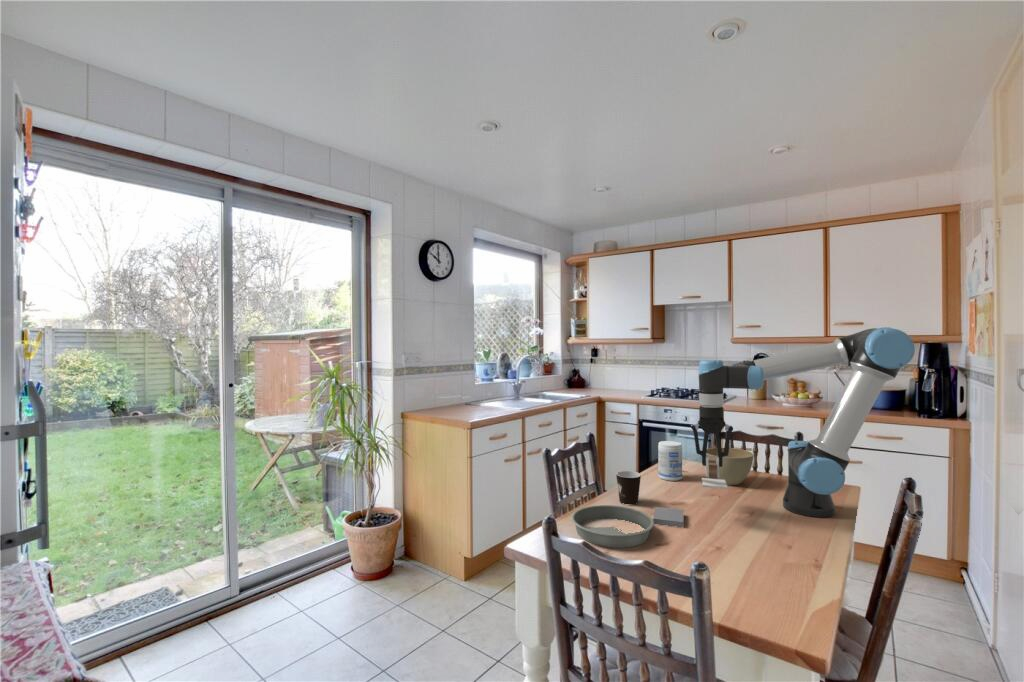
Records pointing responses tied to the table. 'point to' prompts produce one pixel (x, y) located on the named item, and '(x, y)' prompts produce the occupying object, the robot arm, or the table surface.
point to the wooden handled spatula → (713, 476)
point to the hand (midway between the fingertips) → (712, 475)
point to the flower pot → (733, 465)
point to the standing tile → (668, 517)
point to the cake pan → (609, 534)
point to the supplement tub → (670, 460)
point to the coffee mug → (628, 486)
